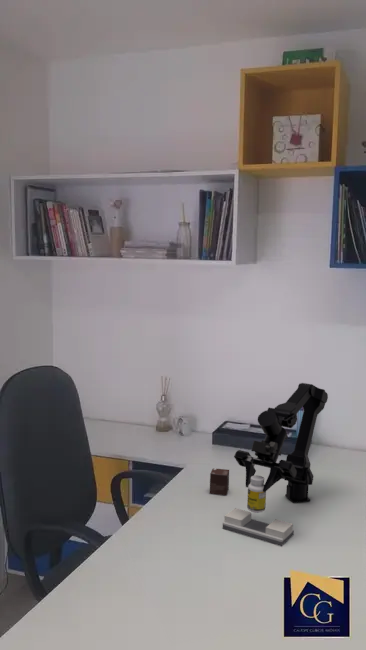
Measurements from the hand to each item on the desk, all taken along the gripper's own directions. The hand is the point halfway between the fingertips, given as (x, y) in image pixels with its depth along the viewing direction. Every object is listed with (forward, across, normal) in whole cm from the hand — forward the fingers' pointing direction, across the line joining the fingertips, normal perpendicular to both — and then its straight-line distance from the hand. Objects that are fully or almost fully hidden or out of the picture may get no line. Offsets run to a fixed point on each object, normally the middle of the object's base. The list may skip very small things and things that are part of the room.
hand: (255, 489), depth 179 cm
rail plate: (+9, +1, +10) cm, 13 cm away
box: (-5, -24, +24) cm, 35 cm away
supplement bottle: (+4, 0, +6) cm, 7 cm away
